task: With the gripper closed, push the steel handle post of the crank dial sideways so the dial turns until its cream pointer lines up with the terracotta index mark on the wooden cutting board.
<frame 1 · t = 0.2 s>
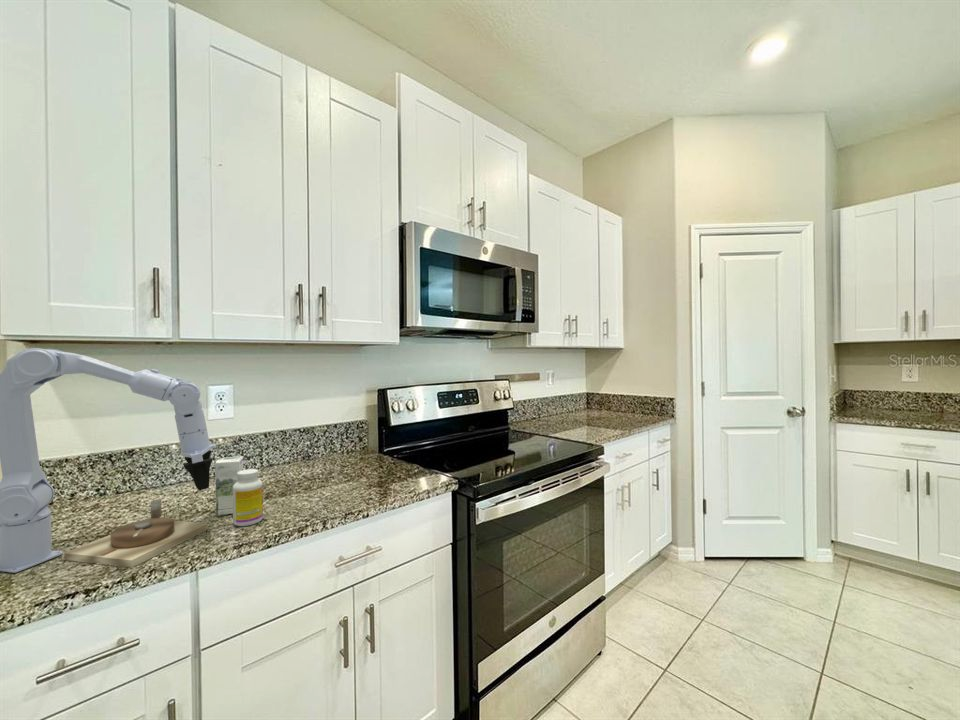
hand: (203, 485, 99), 11 cm above the worktop, tool pointing down, fingers open, 7 cm apart
crank dial: (146, 521, 93), point 4 cm above the worktop, hinge at 35.0°
wooden cutting board: (142, 543, 91), on the worktop
supplement bottle: (248, 522, 103), on the worktop
syrup box: (230, 512, 110), on the worktop
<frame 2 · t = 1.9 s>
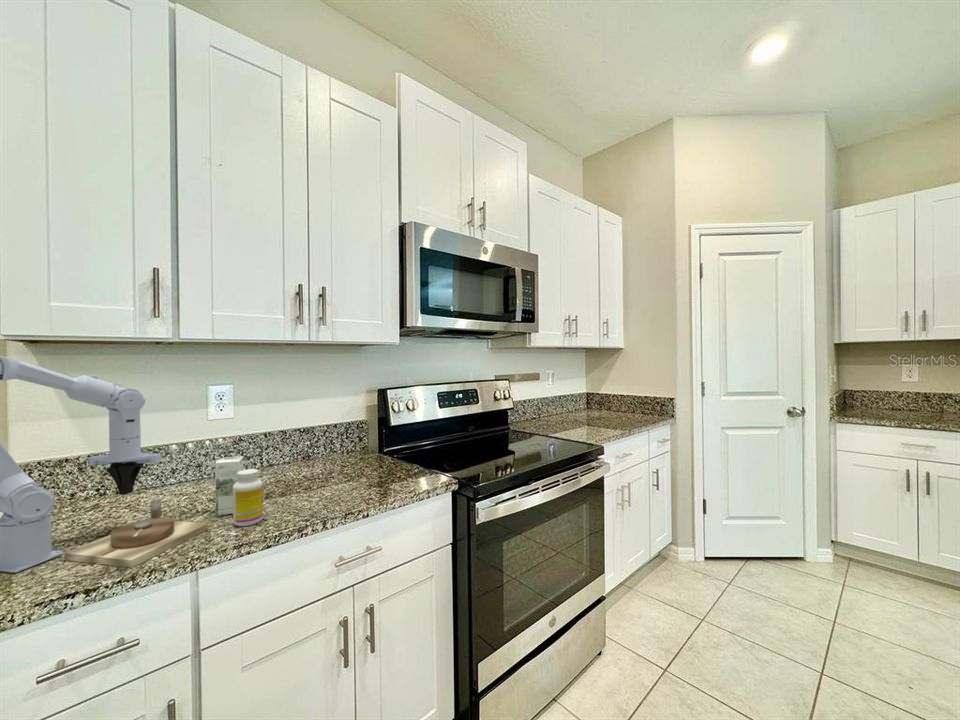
hand: (126, 493, 98), 9 cm above the worktop, tool pointing down, fingers closed
nothing on the worktop moved.
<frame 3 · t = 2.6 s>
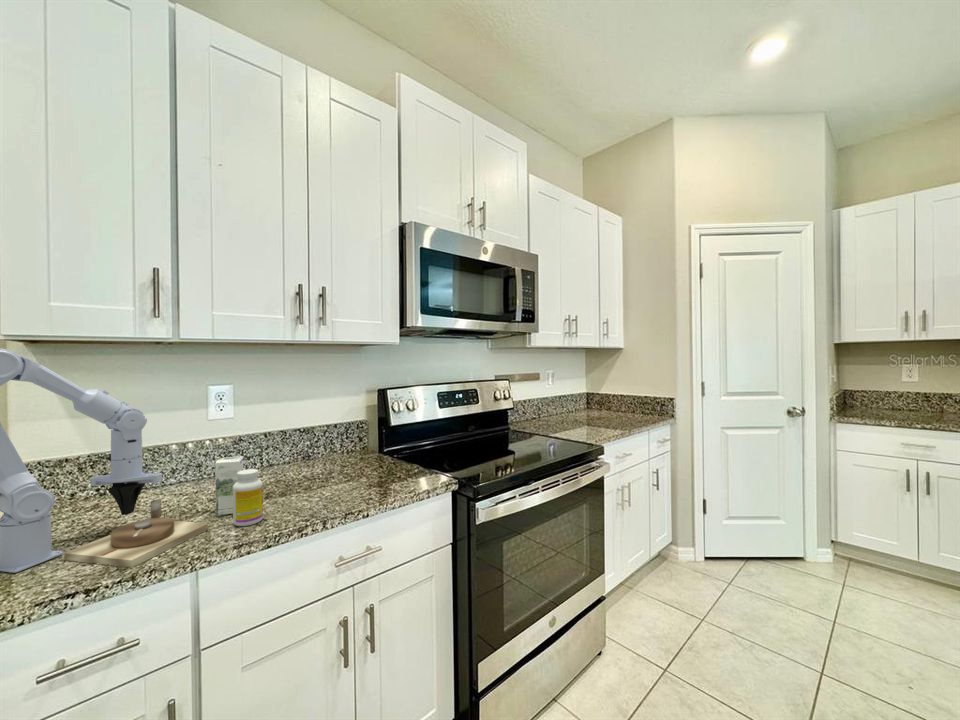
hand: (127, 513, 98), 4 cm above the worktop, tool pointing down, fingers closed
nothing on the worktop moved.
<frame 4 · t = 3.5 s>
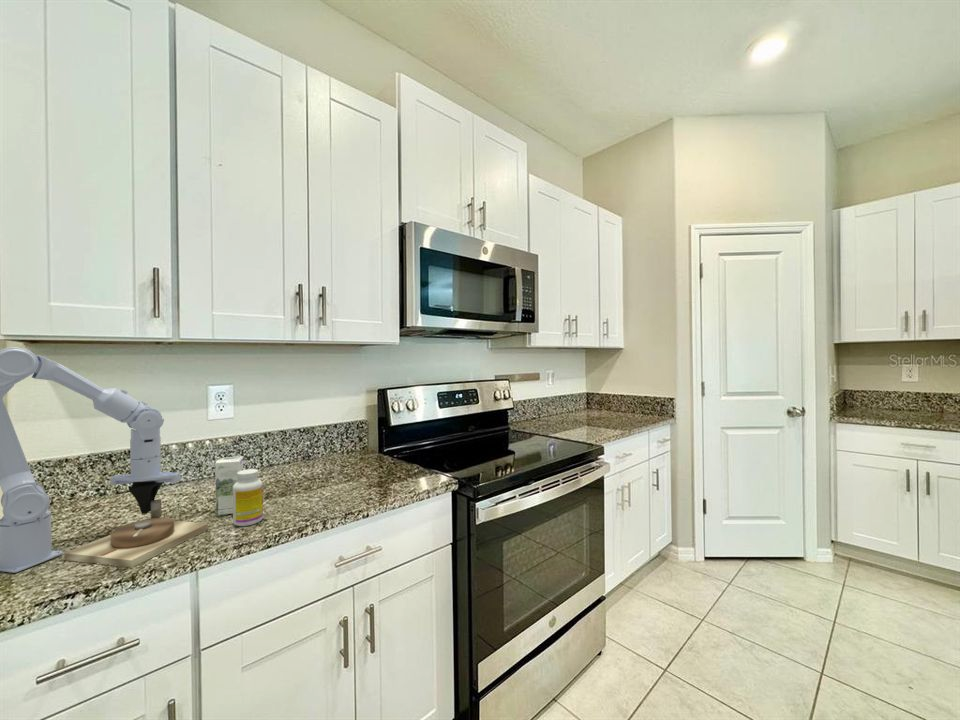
hand: (146, 512, 98), 4 cm above the worktop, tool pointing down, fingers closed, pressing on crank dial
crank dial: (146, 521, 93), point 4 cm above the worktop, hinge at 34.9°, touching gripper
everything else where it was.
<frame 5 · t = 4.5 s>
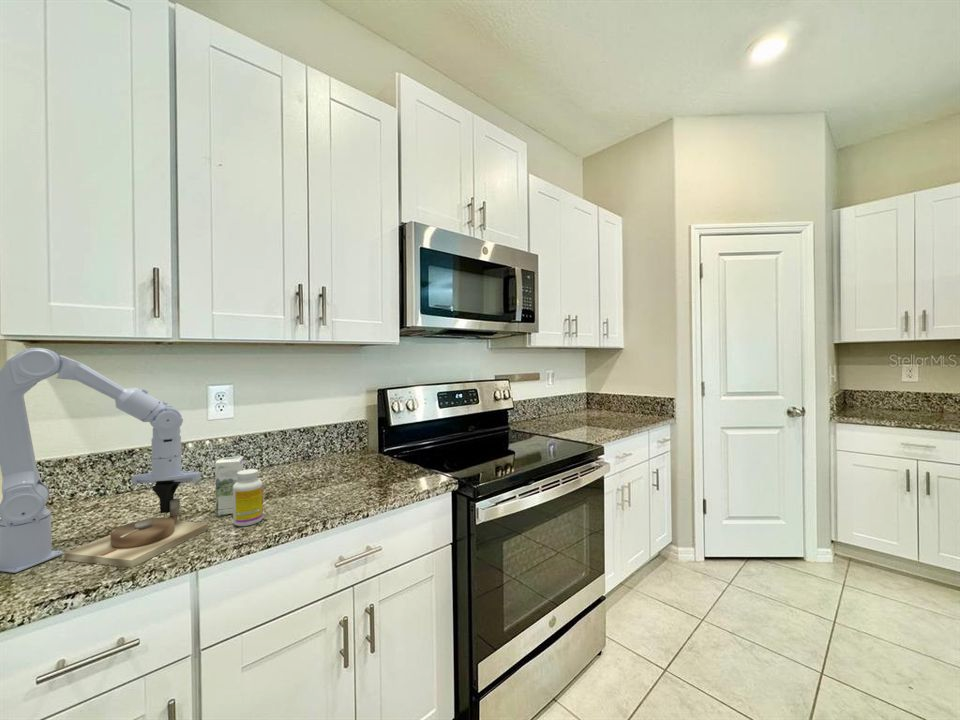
hand: (167, 511, 99), 4 cm above the worktop, tool pointing down, fingers closed, pressing on crank dial
crank dial: (151, 520, 93), point 4 cm above the worktop, hinge at 7.1°, touching gripper
everything else where it was.
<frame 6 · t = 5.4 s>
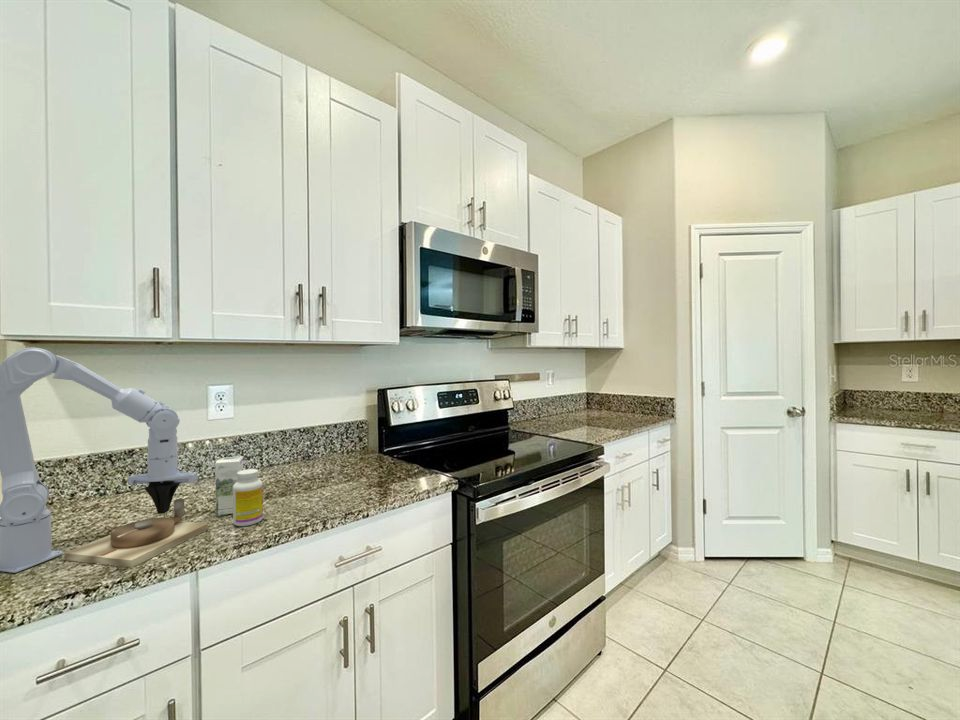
hand: (163, 512, 99), 4 cm above the worktop, tool pointing down, fingers closed
crank dial: (152, 520, 93), point 4 cm above the worktop, hinge at -1.5°
everything else where it was.
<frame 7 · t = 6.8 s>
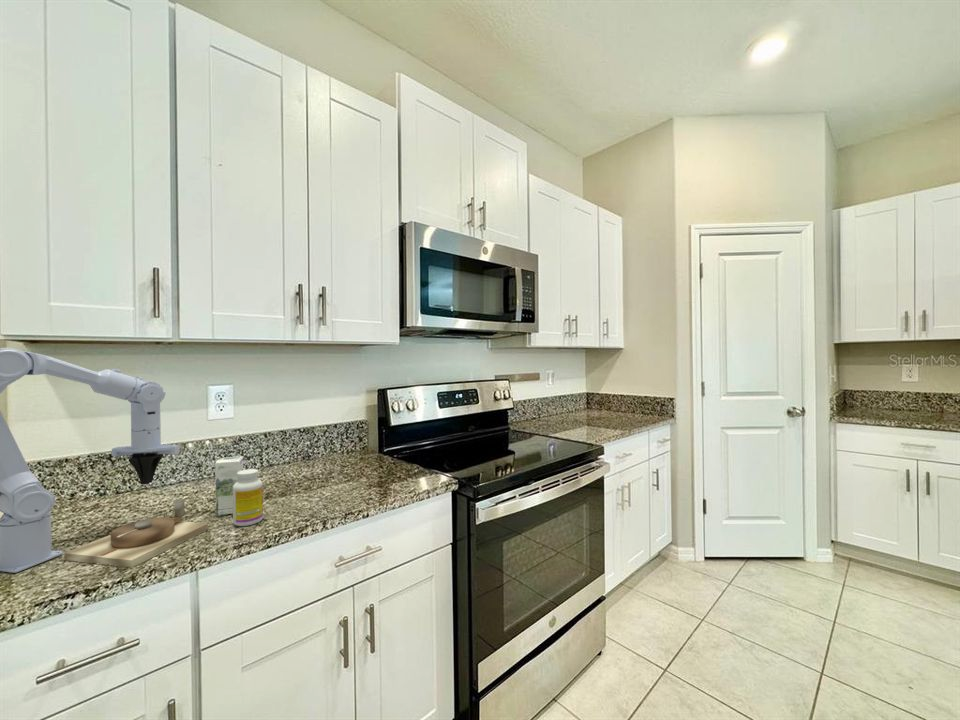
hand: (146, 483, 102), 10 cm above the worktop, tool pointing down, fingers closed
crank dial: (152, 520, 93), point 4 cm above the worktop, hinge at -1.8°
everything else where it was.
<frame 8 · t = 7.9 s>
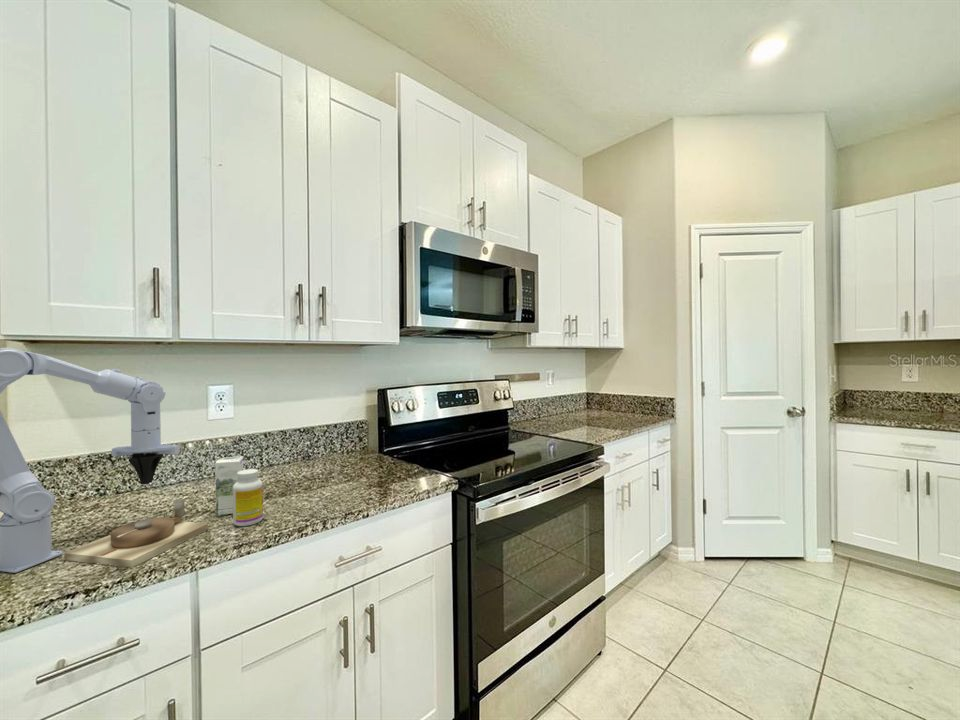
hand: (146, 483, 102), 10 cm above the worktop, tool pointing down, fingers closed
nothing on the worktop moved.
at the end: crank dial at -2° (first picture: +35°) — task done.
